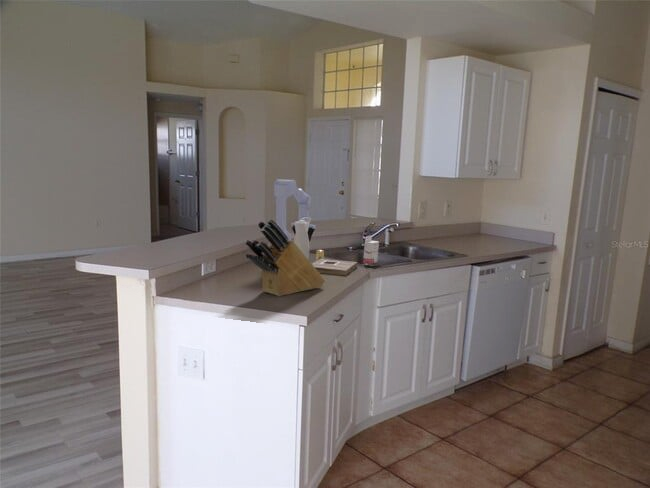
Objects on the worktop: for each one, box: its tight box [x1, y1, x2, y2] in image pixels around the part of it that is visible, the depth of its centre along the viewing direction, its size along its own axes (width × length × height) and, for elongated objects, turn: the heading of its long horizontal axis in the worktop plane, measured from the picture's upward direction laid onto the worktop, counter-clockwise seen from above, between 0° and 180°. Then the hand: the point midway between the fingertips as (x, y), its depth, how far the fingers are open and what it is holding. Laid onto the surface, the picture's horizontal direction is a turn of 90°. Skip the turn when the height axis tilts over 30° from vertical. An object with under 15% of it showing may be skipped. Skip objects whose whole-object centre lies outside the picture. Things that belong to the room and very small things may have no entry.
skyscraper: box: [293, 216, 312, 260], centre depth 231 cm, size 8×8×28 cm
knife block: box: [244, 218, 326, 297], centre depth 203 cm, size 11×35×31 cm, turn 134°
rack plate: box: [311, 258, 358, 277], centre depth 252 cm, size 22×20×3 cm
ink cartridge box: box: [363, 235, 380, 265], centre depth 272 cm, size 9×5×15 cm, turn 149°
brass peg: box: [315, 249, 325, 262], centre depth 270 cm, size 4×4×6 cm
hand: (303, 240), depth 278 cm, fingers open, 7 cm apart
